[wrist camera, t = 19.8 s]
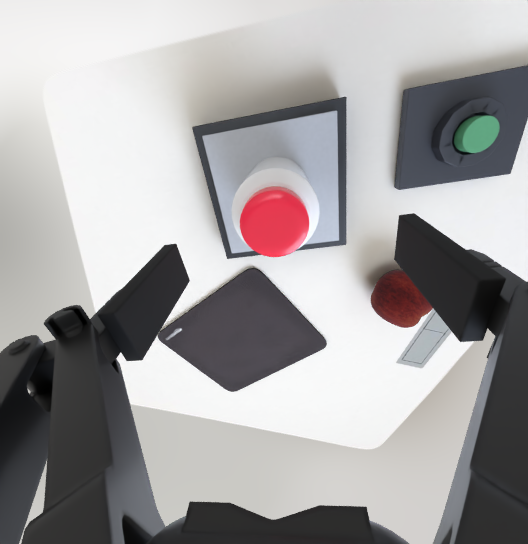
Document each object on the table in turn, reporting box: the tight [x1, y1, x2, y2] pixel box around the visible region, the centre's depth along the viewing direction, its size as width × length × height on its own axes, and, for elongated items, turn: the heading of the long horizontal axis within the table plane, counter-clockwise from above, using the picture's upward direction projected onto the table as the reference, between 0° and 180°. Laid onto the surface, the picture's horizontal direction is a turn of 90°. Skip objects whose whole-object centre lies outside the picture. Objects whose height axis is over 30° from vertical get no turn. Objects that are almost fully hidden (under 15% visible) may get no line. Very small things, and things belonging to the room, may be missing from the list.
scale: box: [192, 97, 346, 259], centre depth 31 cm, size 16×16×3 cm
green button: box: [454, 115, 499, 153], centre depth 25 cm, size 3×3×2 cm
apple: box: [371, 270, 433, 328], centre depth 35 cm, size 7×8×8 cm
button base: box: [395, 66, 528, 190], centre depth 27 cm, size 12×10×3 cm
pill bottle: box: [231, 157, 320, 257], centre depth 24 cm, size 8×8×11 cm
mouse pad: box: [158, 269, 327, 392], centre depth 46 cm, size 25×21×1 cm
